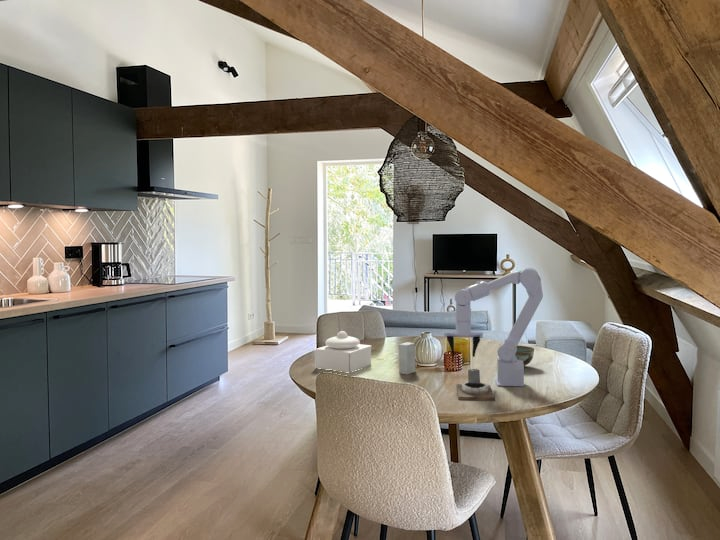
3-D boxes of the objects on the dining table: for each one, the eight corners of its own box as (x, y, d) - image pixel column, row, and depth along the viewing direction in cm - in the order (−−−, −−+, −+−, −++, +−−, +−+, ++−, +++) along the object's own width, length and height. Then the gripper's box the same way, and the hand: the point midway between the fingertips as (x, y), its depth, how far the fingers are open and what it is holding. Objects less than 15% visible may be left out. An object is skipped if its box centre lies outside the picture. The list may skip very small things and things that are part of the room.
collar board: (489, 387, 195) (489, 379, 195) (494, 400, 179) (494, 391, 179) (456, 386, 197) (456, 378, 196) (458, 399, 181) (458, 390, 181)
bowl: (536, 371, 219) (536, 351, 218) (502, 370, 221) (502, 350, 221) (532, 363, 232) (532, 345, 231) (500, 362, 235) (500, 344, 234)
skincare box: (407, 370, 223) (406, 341, 222) (415, 371, 220) (415, 343, 219) (398, 373, 218) (398, 344, 217) (407, 374, 215) (407, 345, 215)
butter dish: (337, 361, 242) (337, 326, 242) (372, 365, 233) (371, 329, 232) (314, 369, 227) (314, 332, 227) (350, 374, 218) (350, 335, 217)
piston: (477, 388, 190) (476, 368, 190) (482, 390, 187) (481, 370, 186) (466, 389, 189) (465, 369, 189) (471, 392, 186) (470, 372, 185)
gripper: (481, 319, 207) (481, 354, 208) (443, 319, 209) (443, 353, 210) (483, 322, 200) (483, 358, 201) (444, 321, 202) (444, 357, 203)
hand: (463, 356), depth 205 cm, fingers open, 7 cm apart
